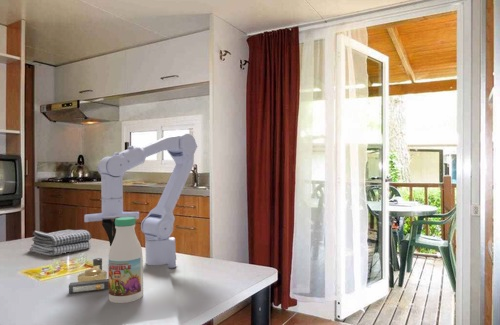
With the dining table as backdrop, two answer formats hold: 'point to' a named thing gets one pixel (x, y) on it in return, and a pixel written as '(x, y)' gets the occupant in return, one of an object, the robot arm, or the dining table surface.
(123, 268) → the milk bottle
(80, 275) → the tan piece
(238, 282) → the dining table surface
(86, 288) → the stand base
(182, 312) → the dining table surface
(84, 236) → the towel
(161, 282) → the dining table surface
